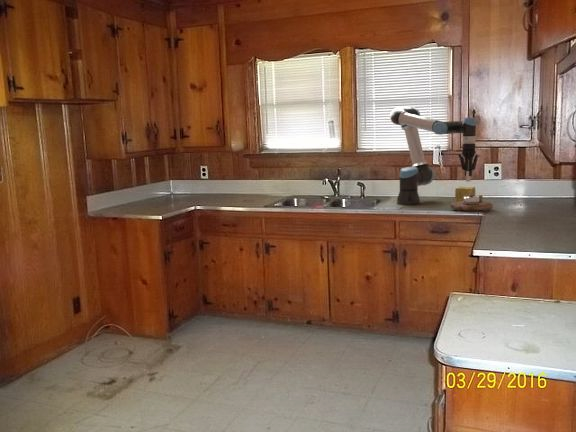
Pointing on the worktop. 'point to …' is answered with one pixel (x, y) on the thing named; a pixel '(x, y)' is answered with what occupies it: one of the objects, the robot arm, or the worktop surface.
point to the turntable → (476, 207)
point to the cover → (471, 200)
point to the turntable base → (471, 210)
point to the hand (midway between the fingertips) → (468, 181)
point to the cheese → (463, 193)
